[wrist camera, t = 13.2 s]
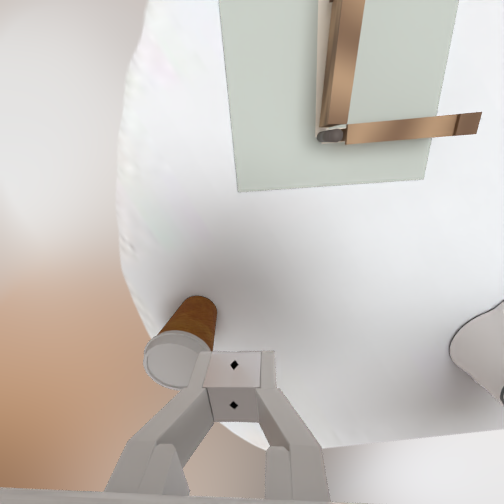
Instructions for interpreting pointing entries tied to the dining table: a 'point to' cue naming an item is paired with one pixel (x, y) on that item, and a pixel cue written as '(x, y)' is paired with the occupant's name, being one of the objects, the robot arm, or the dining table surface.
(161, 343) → the disposable coffee cup
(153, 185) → the dining table surface
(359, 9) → the hinged fence panel
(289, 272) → the dining table surface
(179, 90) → the dining table surface
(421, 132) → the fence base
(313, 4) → the card
